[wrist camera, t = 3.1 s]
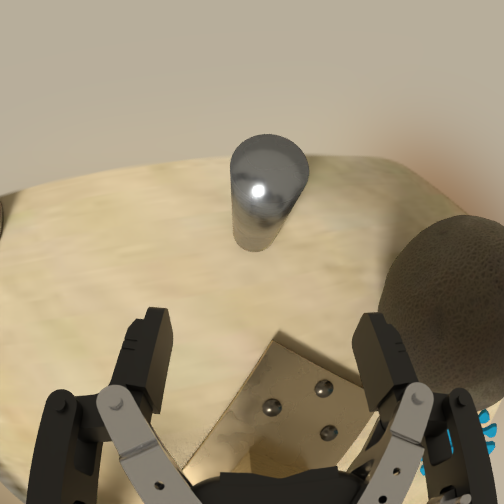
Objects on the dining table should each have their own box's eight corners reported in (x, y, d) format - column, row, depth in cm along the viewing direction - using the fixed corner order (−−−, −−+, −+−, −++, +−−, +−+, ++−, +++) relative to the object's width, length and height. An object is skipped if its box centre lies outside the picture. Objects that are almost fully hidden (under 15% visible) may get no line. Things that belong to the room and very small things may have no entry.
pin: (224, 237, 24) (214, 177, 12) (247, 203, 25) (256, 122, 13) (261, 260, 24) (285, 219, 12) (283, 224, 25) (321, 158, 13)
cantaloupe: (469, 282, 25) (575, 262, 10) (423, 404, 22) (528, 447, 7) (376, 218, 25) (485, 144, 10) (313, 359, 23) (411, 423, 8)
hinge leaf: (171, 482, 20) (160, 513, 14) (272, 339, 23) (282, 349, 18) (275, 523, 19) (282, 553, 14) (379, 396, 22) (408, 412, 17)
